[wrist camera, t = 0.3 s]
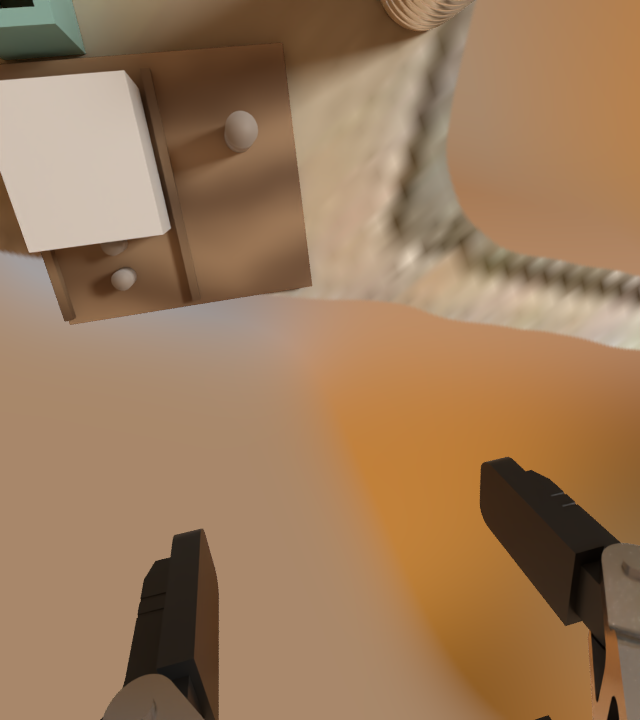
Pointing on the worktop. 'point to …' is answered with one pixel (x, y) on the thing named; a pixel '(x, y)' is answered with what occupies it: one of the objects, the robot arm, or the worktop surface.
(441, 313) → the worktop surface
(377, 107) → the worktop surface
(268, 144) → the board
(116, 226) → the white rectangular block
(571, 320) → the worktop surface
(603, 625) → the robot arm
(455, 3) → the water bottle
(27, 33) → the sleeve
